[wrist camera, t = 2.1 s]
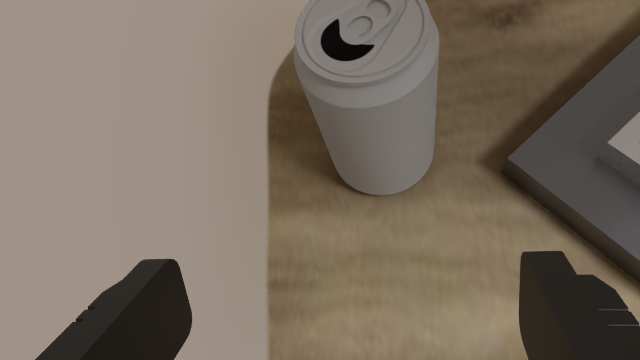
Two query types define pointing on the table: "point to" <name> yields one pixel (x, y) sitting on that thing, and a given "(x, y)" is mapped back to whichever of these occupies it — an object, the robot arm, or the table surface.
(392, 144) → the beverage can
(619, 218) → the mounting plate
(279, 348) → the table surface
